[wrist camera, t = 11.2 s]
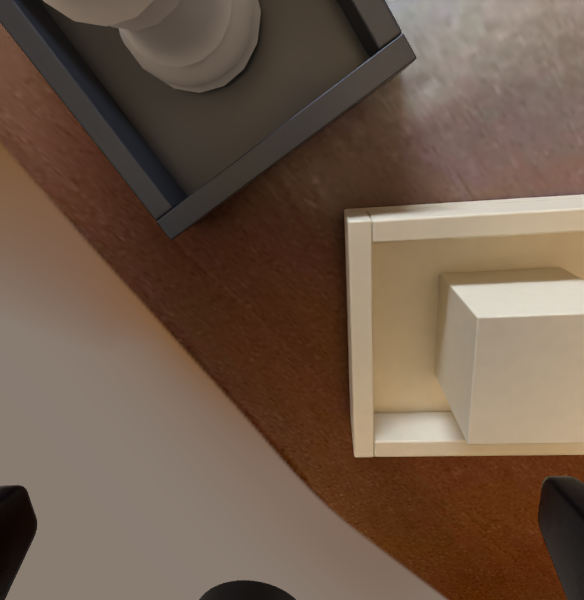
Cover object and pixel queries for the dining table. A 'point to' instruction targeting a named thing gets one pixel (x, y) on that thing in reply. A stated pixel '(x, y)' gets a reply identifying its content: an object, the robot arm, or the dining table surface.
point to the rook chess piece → (178, 35)
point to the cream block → (513, 354)
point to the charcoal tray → (213, 96)
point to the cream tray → (435, 309)
